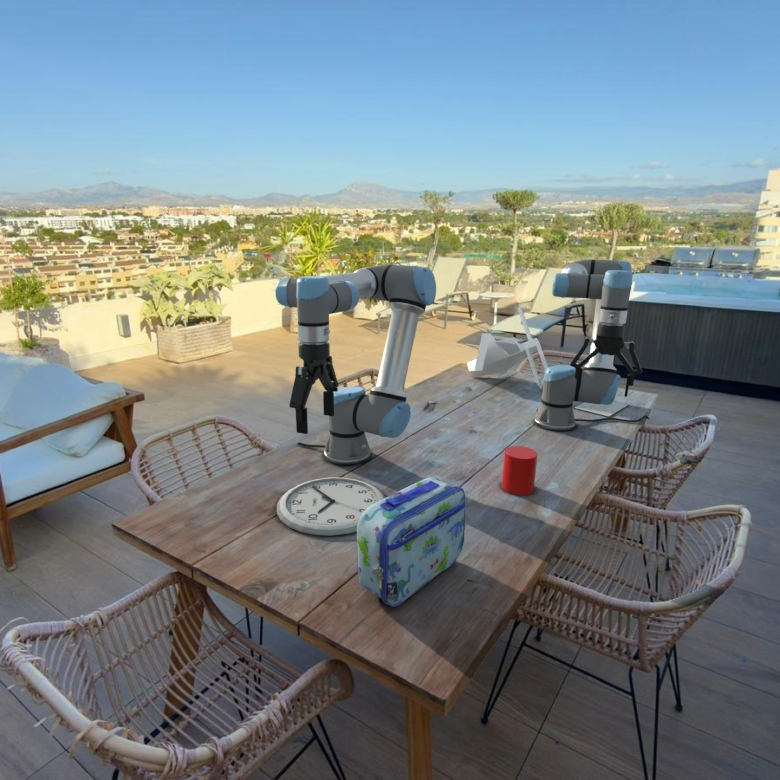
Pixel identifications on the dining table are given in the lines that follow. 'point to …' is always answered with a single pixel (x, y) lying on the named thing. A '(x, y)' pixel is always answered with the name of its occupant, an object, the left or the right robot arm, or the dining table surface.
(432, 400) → the fork
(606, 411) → the invitation card
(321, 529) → the wall clock
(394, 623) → the dining table surface
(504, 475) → the canister
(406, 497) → the lunch box
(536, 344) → the white plastic object
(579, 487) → the dining table surface
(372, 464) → the dining table surface
